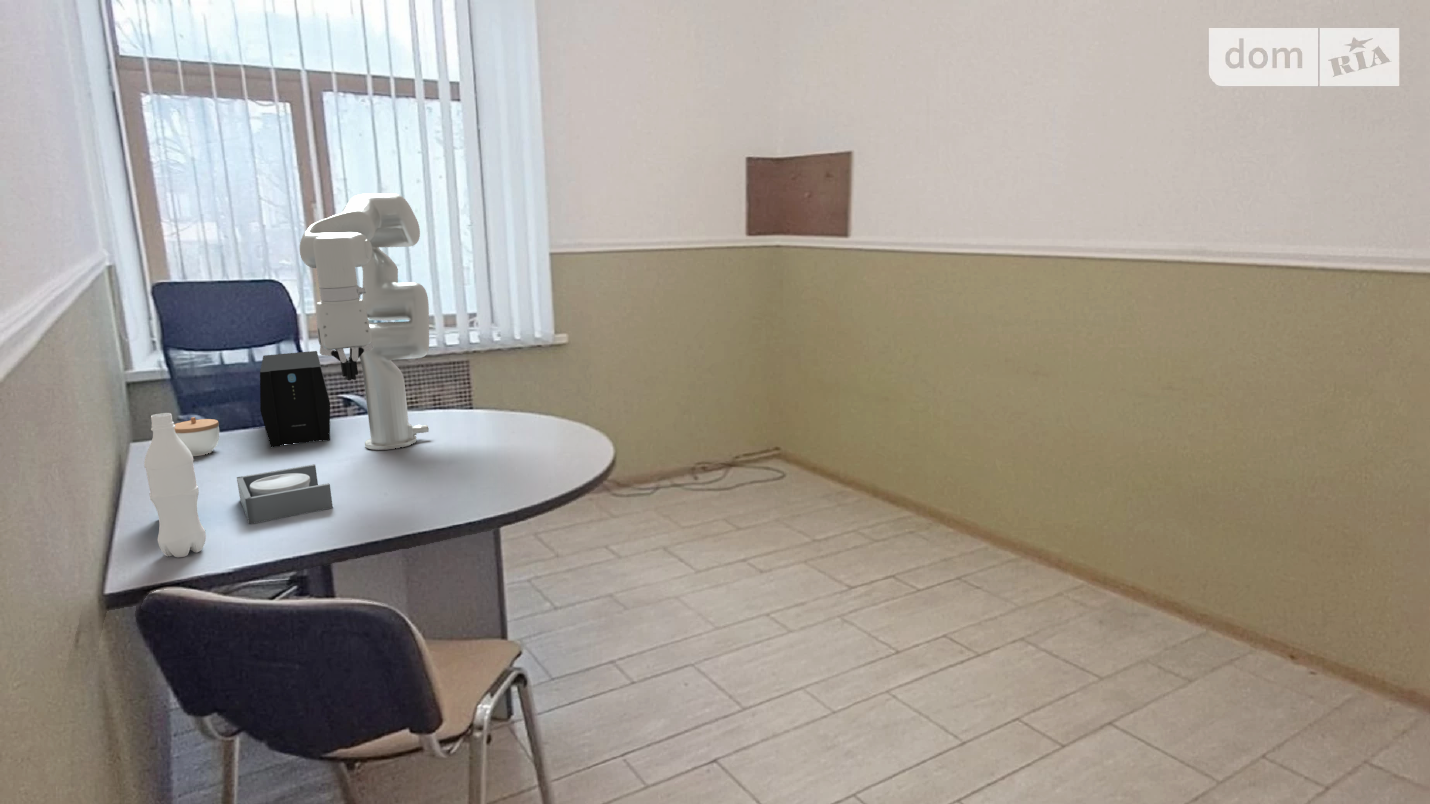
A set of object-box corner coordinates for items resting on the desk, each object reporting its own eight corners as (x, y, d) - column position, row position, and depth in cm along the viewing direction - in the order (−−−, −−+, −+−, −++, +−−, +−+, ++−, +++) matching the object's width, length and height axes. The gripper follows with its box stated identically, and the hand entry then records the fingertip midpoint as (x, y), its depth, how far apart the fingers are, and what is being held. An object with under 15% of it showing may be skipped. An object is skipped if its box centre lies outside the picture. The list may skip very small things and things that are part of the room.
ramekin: (288, 493, 181) (285, 470, 180) (325, 499, 176) (322, 475, 175) (240, 510, 171) (236, 485, 170) (278, 517, 166) (274, 491, 165)
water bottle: (173, 563, 144) (148, 421, 139) (152, 555, 148) (127, 417, 143) (216, 549, 150) (193, 412, 145) (195, 541, 154) (172, 408, 149)
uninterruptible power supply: (265, 448, 218) (254, 372, 214) (268, 422, 248) (258, 354, 244) (334, 439, 225) (325, 366, 221) (329, 415, 255) (321, 349, 251)
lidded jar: (224, 445, 222) (219, 411, 220) (220, 455, 213) (215, 419, 211) (177, 451, 218) (171, 416, 216) (171, 461, 208) (164, 424, 206)
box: (317, 486, 185) (314, 464, 184) (332, 507, 171) (329, 484, 169) (240, 500, 177) (236, 477, 176) (249, 524, 162) (245, 499, 161)
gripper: (372, 290, 186) (382, 371, 191) (298, 296, 178) (310, 380, 182) (380, 293, 180) (390, 377, 184) (304, 300, 172) (316, 387, 176)
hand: (350, 378), depth 183 cm, fingers closed
